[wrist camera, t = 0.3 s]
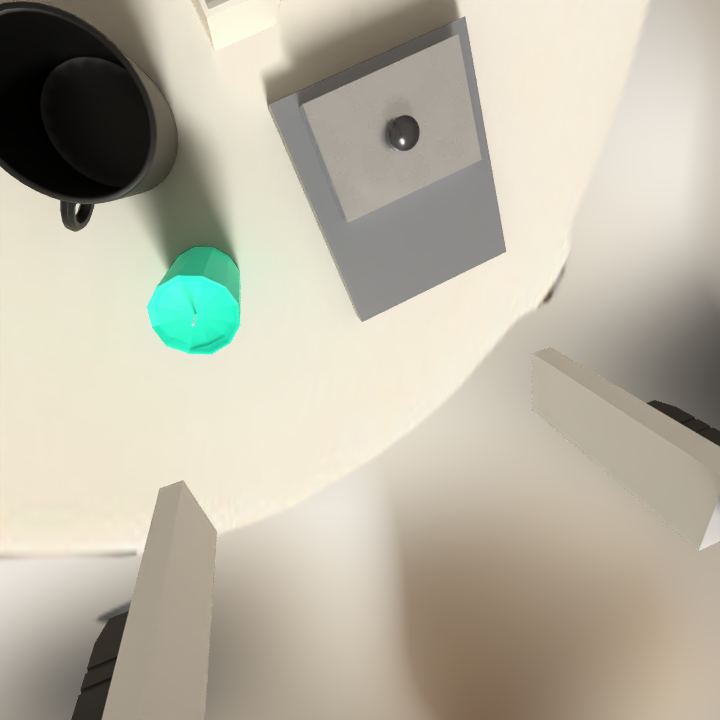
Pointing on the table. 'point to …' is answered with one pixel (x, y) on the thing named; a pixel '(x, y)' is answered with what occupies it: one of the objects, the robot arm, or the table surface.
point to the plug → (235, 18)
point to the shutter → (395, 129)
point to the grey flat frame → (399, 202)
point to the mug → (77, 113)
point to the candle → (197, 302)
